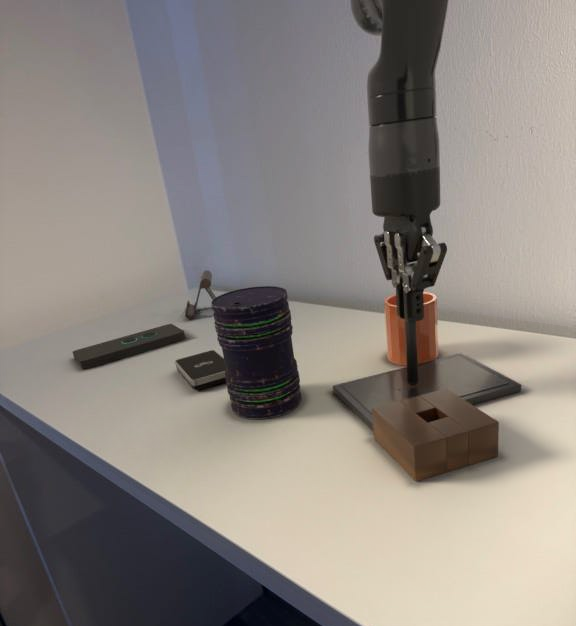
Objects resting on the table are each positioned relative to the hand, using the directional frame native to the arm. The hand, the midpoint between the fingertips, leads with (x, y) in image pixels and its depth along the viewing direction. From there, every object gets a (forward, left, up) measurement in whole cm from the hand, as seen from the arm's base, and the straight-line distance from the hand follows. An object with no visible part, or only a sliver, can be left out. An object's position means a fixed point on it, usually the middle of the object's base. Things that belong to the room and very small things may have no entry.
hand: (410, 318), depth 66 cm
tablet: (-1, 0, -10) cm, 10 cm away
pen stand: (+5, +12, -10) cm, 17 cm away
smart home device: (+35, -47, -11) cm, 59 cm away
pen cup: (-6, -12, -10) cm, 17 cm away
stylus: (0, 0, -9) cm, 9 cm away
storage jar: (+18, -9, -11) cm, 22 cm away
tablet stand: (+18, -62, -11) cm, 65 cm away
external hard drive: (+24, -24, -11) cm, 35 cm away
